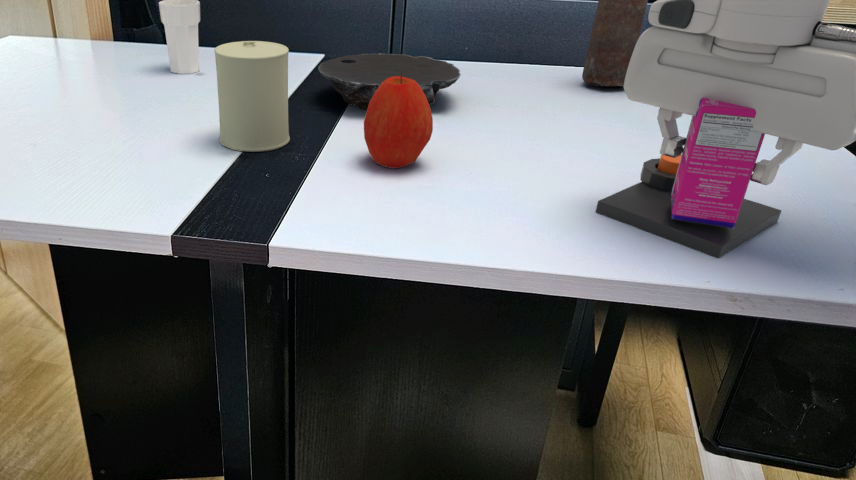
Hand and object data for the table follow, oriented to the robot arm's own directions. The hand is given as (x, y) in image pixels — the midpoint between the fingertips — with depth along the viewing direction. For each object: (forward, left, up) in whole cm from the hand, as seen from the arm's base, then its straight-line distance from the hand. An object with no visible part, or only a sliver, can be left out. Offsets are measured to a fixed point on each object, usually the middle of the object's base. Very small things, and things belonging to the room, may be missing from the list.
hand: (713, 167), depth 68 cm
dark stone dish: (+52, -7, -7) cm, 53 cm away
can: (+49, +20, -7) cm, 53 cm away
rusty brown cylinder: (+36, -41, -7) cm, 55 cm away
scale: (+2, -2, -7) cm, 7 cm away
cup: (+86, +9, -7) cm, 87 cm away
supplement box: (0, 0, -5) cm, 5 cm away
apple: (+32, +11, -7) cm, 34 cm away
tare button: (+7, -7, -4) cm, 10 cm away
